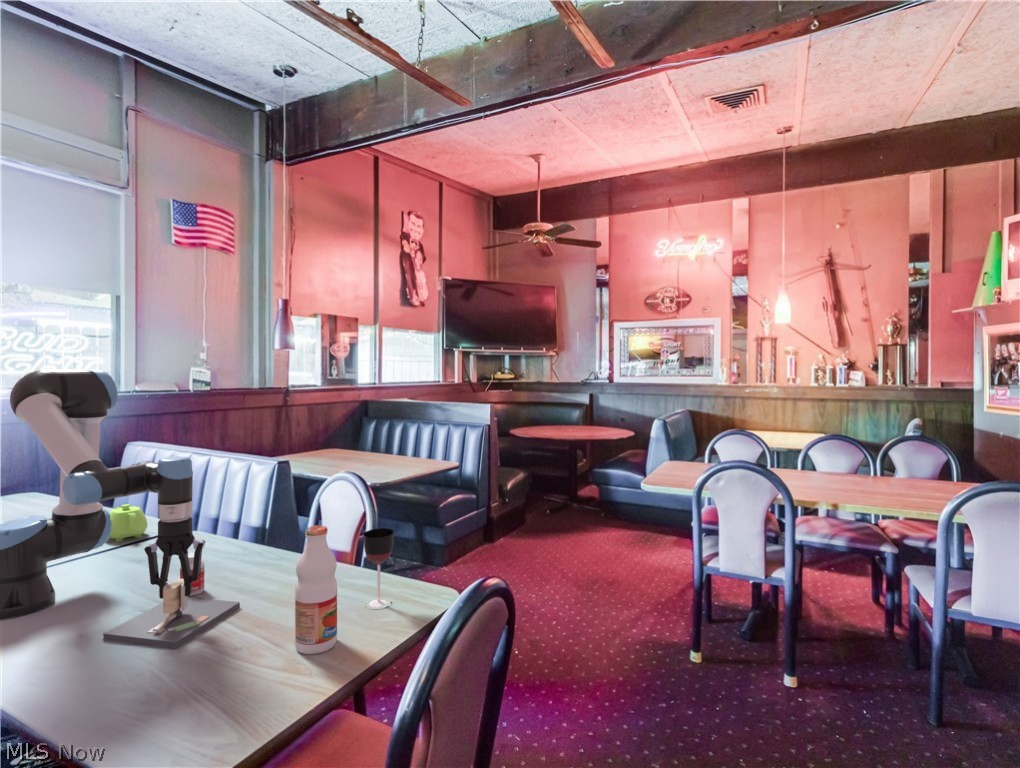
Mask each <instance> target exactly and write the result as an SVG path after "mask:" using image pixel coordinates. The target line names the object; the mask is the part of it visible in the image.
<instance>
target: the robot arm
mask: <svg viewBox="0 0 1020 768" xmlns="http://www.w3.org/2000/svg"><path fill="white" fill-rule="evenodd" d="M118 397H119V393H118V388H117V385H116V382H115V380H114V379H113V377H112V376H111V375H110V374H109V373H108V372H106V371H104V370H102V369H100V370H99V369H89V368H86V369H85V368H84V369H81V368H79V369H77V368H76V369H75V368H74V369H72V368H70V369H69V368H68V369H48V368H47V369H45V368H43V369H39V370H34V371H32V372H29V373H26V374H25V375H24V376H22V377H21V378H20V379H18V381H17V382H16V383H15V384H14V385H13V388H12V389H11V392H10V395H9V404H10V409H11V410H12V412H13V414H14V415H15V416H16V417H17V419H18V420H19V421H20V422H22V423H24V424H25V423H26V424H28V426H29V427H30V429H31V430H32V431H33V433H34V435H35V436H36V437H37V438H38V439H39V441H40V443H41V444H42V445H43V446H44V448H45V449H46V450H47V452H48V453H49V455H50V456H51V458H52V459H53V461H55V463H56V464H57V466H58V467H59V468H60V477H59V480H60V481H59V499H58V500H59V503H58V504H57V505H56V506H55V507H53V508H52V510H51V518H46V517H45V516H43V515H32V516H27V517H26V516H25V517H20V518H19V517H18V518H15V519H12V520H8V521H6V522H3V523H0V620H4V619H5V620H6V619H10V618H16V617H17V618H18V617H21V616H26V615H28V614H32V613H35V612H38V611H40V610H43V609H45V608H48V607H49V606H51V605H52V604H53V603H54V602H55V601H56V590H55V588H54V587H53V584H52V581H51V580H50V577H49V576H48V573H47V572H48V570H47V569H48V567H47V566H48V565H47V563H49V562H52V561H56V560H60V559H63V558H68V557H71V556H74V555H79V554H84V553H88V552H91V551H93V550H96V549H99V548H101V547H103V546H104V545H105V544H106V543H107V542H108V540H109V539H110V537H109V536H110V533H111V529H112V521H111V519H110V517H111V516H110V512H109V511H108V510H107V509H105V508H104V505H103V504H102V503H100V502H103V501H107V500H112V499H117V498H122V497H123V498H124V497H129V496H133V495H139V494H144V493H154V494H155V493H156V494H157V519H159V520H158V522H157V539H156V540H155V542H153V543H149V544H147V545H146V546H145V547H144V548H143V549H144V552H145V554H146V555H147V563H148V571H149V582H150V583H149V584H151V585H152V586H153V585H156V586H158V587H159V589H158V590H159V591H158V593H159V596H158V597H159V599H161V600H162V599H163V589H165V588H166V587H168V586H169V585H170V584H172V583H171V582H168V581H169V580H168V577H169V574H170V573H169V572H170V566H171V562H172V561H171V560H172V557H173V556H178V557H177V558H178V560H179V562H180V566H181V569H182V574H183V579H184V582H183V583H182V585H181V611H183V610H185V609H186V607H187V596H188V597H190V596H189V595H190V594H191V592H192V582H193V581H196V580H197V579H198V578H199V576H200V568H201V560H202V558H201V557H202V555H203V548H204V546H205V545H206V541H205V540H203V539H202V540H199V539H196V538H195V536H194V534H193V528H194V527H193V516H192V515H193V482H194V480H193V479H194V478H193V476H194V475H193V474H194V471H193V465H192V464H193V461H192V459H191V458H190V457H188V456H169V457H163V458H161V459H159V460H158V461H157V462H155V461H150V460H146V461H145V460H144V461H136V462H133V463H132V464H131V465H130V464H129V465H124V466H116V467H111V468H110V467H107V466H106V465H105V464H104V463H103V461H102V460H101V459H100V456H99V455H100V437H101V436H100V435H101V422H102V420H104V419H105V418H107V417H108V410H110V409H113V408H114V407H115V406H116V405H117V404H116V403H118V399H119V398H118ZM192 545H193V549H194V552H193V553H194V563H193V574H192V575H191V570H190V564H189V559H188V553H189V548H190V547H191V546H192ZM158 549H159V550H160V551H161V553H163V555H162V563H161V569H160V573H159V563H158V562H159V561H158V553H157V551H158Z"/></svg>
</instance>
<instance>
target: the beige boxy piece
mask: <svg viewBox="0 0 1020 768" xmlns="http://www.w3.org/2000/svg"><path fill="white" fill-rule="evenodd" d="M183 582H184V579H180V578H177V579H176V580H174V581H173V582H172V583H171V584H170V585H169V586H168V587H166V588H165V589H163V598H162V600H163V601H162V603H163V613H170V615H169V616H168V617H167V618H166V619H165V620H163V621H162V622H161V623H160V624H159V625H157V626H156V627H155V628H154V629H153V632H158V631H159V630H160V629H162V628H163V627H164V626H165V625H166V624H168V623H169V622H170V621H171V620H172V619H174V618H177V617H180V616H182V611H180V607H181V585H182V583H183ZM188 597H189V596H187V602H188Z"/></svg>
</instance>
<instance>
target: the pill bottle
mask: <svg viewBox="0 0 1020 768" xmlns="http://www.w3.org/2000/svg"><path fill="white" fill-rule="evenodd" d="M194 553H195V552H188V559H189V564H190V570H191V575H192V574H193V563H194ZM179 579H183V574H182V569H181V565H180V566H179ZM203 592H205V562H204V560H202V557H201V568H200V576H199V578H198V579H197V580H196V581H193V582H192V592H191V594H190V595H189V596H188V597H193V596H197V595H200V594H201V593H203Z"/></svg>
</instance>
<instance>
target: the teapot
mask: <svg viewBox="0 0 1020 768" xmlns="http://www.w3.org/2000/svg"><path fill="white" fill-rule="evenodd" d="M109 514H110V516H111V517H110V519H111V521H112V529H111V533H110V536H109V539H112V540H113V539H115V541H114V542H115V543H119V542H123V541H124V538H129V537H133V539H140V538H142V537H143V536H142V534H144V533H145V531H147V528H148V521H147V517H146V515H145V514H144V512H143V510H142V509H141V507H139V506H134V505H133V506H131V504H129V503H128V504H127V503H125V504H122V505H121V507H120V506H115V507H114V508H113V509H112V510H110V512H109Z"/></svg>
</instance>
